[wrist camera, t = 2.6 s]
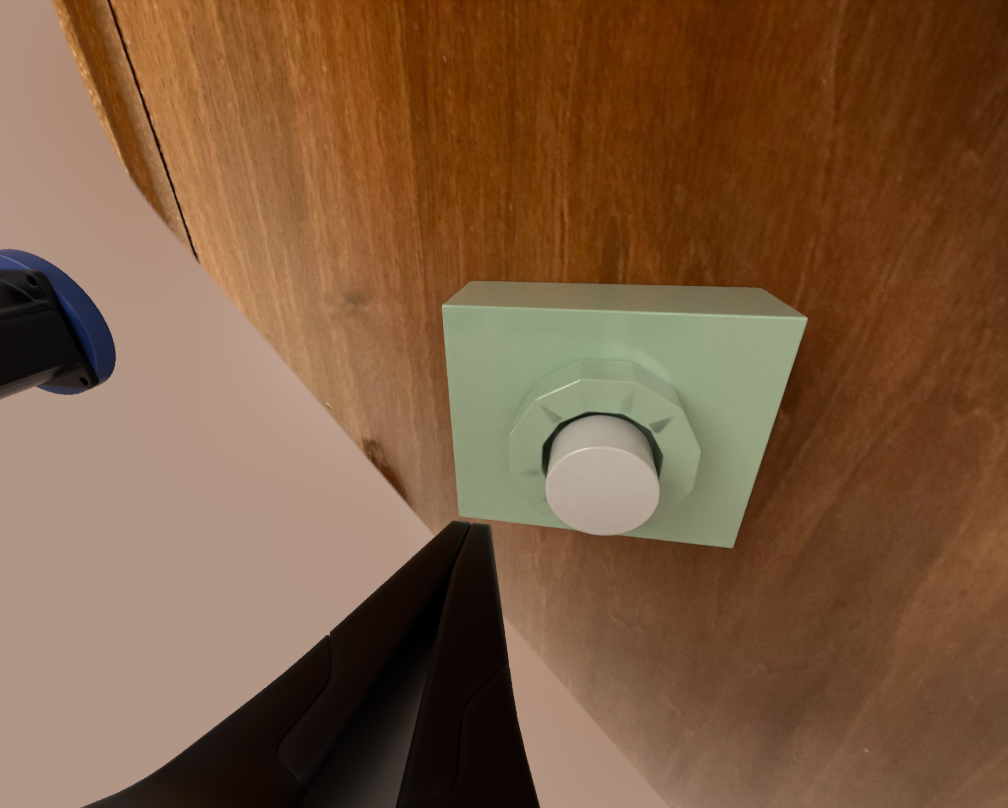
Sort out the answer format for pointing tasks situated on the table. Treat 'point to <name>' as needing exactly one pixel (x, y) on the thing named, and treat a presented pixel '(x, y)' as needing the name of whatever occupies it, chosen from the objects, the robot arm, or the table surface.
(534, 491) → the button base
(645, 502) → the beige button cap
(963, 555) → the table surface
